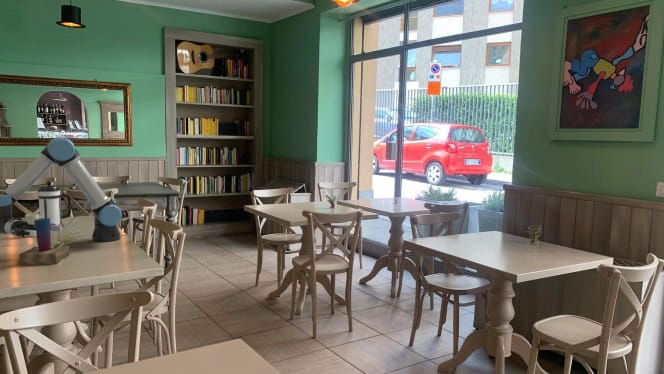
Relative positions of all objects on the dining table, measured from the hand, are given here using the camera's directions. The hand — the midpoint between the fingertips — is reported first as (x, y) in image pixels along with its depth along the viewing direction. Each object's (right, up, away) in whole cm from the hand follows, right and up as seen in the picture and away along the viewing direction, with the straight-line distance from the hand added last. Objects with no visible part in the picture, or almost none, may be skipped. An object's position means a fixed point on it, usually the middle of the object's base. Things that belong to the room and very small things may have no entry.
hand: (48, 231), depth 242 cm
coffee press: (-45, -5, +86) cm, 98 cm away
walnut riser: (-3, -14, +3) cm, 15 cm away
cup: (-3, -9, +2) cm, 10 cm away
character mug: (-41, -8, +58) cm, 71 cm away
